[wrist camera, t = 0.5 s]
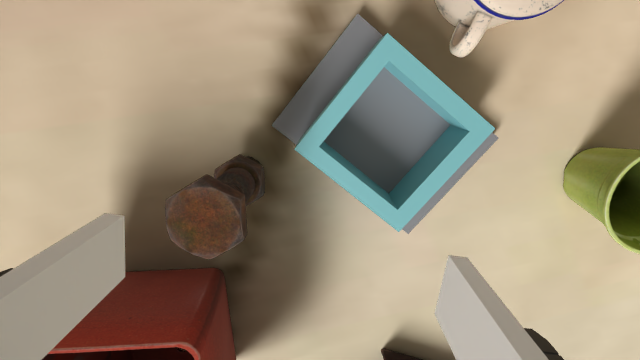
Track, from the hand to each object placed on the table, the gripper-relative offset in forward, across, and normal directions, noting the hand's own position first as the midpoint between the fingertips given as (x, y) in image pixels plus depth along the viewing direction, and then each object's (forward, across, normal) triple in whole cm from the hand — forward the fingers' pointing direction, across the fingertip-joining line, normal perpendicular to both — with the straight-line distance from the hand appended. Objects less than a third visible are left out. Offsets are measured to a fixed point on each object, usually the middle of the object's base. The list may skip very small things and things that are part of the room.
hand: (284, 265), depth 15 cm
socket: (+24, +7, +3) cm, 25 cm away
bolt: (+24, -6, -3) cm, 25 cm away
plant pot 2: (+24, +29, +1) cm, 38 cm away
